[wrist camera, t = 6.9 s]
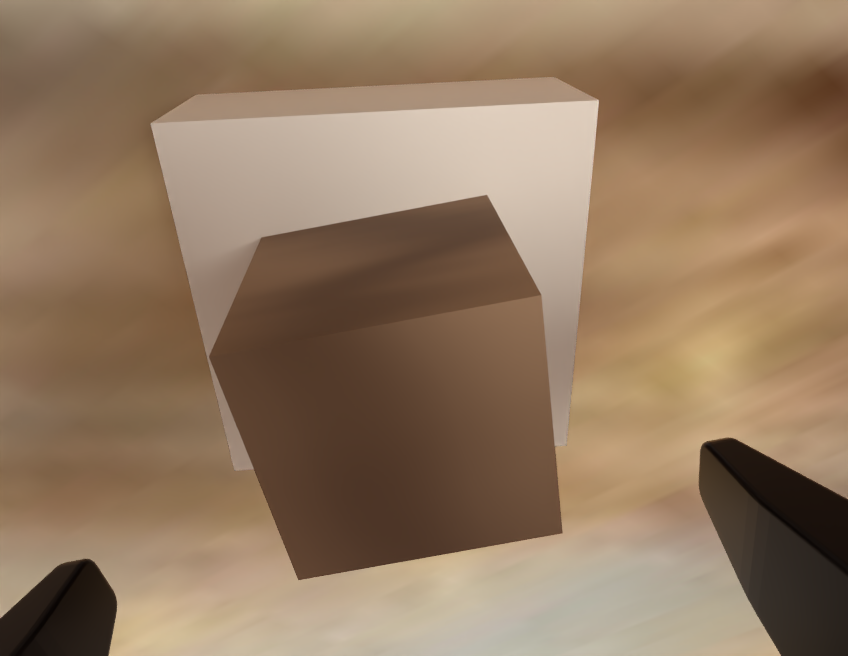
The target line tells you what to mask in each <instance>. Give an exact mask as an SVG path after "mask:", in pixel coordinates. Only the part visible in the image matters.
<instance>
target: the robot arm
mask: <svg viewBox="0 0 848 656" xmlns="http://www.w3.org/2000/svg"><path fill="white" fill-rule="evenodd" d="M699 490H700V495H701V498H702V500H703V503H704V505H705V507H706V509H707V511H708V514H709V516H710V518H711V520H712V522H713V525H714V527H715V529H716V531H717V533H718V536H719V538H720V540H721V542H722V544H723V546H724V549H725V551H726V553H727V555H728V557H729V560H730V562H731V564H732V566H733V568H734V570H735V573H736V575H737V577H738V579H739V581H740V583H741V586H742V588H743V590H744V592H745V594H746V596H747V598H748V600H749V601H750V603H751V605H752V607H753V609H754V610H755V612H756V614H757V616H758V617H759V619H760V621H761V622H762V624H763V626H764V627H765V629H766V631H767V633H768V634H769V636H770V638H771V639H772V641H773V643H774V644H775V646H776V648H777V649H778V651H779V653H780V654H781V656H848V499H846V498H844V497H843V496H841V495H839V494H837V493H835V492H833V491H831V490H830V489H828V488H826V487H824V486H822V485H820V484H818V483H816V482H815V481H813V480H811V479H809V478H807V477H805V476H803V475H802V474H800V473H798V472H796V471H794V470H792V469H790V468H789V467H787V466H785V465H783V464H781V463H779V462H777V461H776V460H774V459H772V458H770V457H768V456H766V455H764V454H762V453H761V452H759V451H757V450H755V449H753V448H751V447H749V446H748V445H746V444H744V443H742V442H740V441H738V440H736V439H734V438H723V439H717V440H712V441H707V442H705V443H703V444H702V446H701V450H700V468H699ZM116 612H117V600H116V596H115V593H114V591H113V590H112V588H111V587H110V585H109V583H108V582H107V580H106V579H105V577H104V576H103V574H102V573H101V571H100V569H99V568H98V566H97V565H96V563H95V562H93V561H92V560H90V559H82V560H76V561H71V562H66V563H63V564H60V565H59V566H57V567H56V568H55V569H54V570H53V571H52V572H51V573H49V574H48V575H47V576H46V577H45V578H44V579H43V580H42V581H41V582H40V583H39V584H37V585H36V586H35V587H34V588H33V589H32V590H31V591H30V592H29V593H28V594H27V595H25V596H24V597H23V598H22V599H21V600H20V601H19V602H18V603H17V604H16V605H15V606H13V607H12V608H11V609H10V610H9V611H8V612H7V613H6V614H5V615H4V616H3V617H1V618H0V656H109V650H110V645H111V640H112V634H113V629H114V623H115V618H116Z"/></svg>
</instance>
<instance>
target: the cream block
mask: <svg viewBox="0 0 848 656" xmlns="http://www.w3.org/2000/svg"><path fill="white" fill-rule="evenodd" d="M598 105H599V100H598V99H596V98H594V97H592V96H590V95H588V94H586V93H584V92H582V91H580V90H578V89H576V88H574V87H573V86H571V85H569V84H567V83H565V82H563V81H561V80H559V79H557V78H555V77H542V78H522V79H502V80H482V81H462V82H441V83H421V84H401V85H381V86H361V87H341V88H320V89H300V90H280V91H260V92H240V93H220V94H199V95H195V96H193V97H192V98H190V99H188V100H187V101H185V102H184V103H182V104H180V105H179V106H177V107H176V108H174V109H172V110H171V111H169V112H168V113H166V114H165V115H163V116H161V117H160V118H158V119H157V120H155V121H153V122H152V123H151V128H152V132H153V136H154V140H155V144H156V148H157V152H158V157H159V161H160V165H161V169H162V173H163V177H164V181H165V186H166V190H167V194H168V198H169V202H170V206H171V210H172V215H173V219H174V223H175V227H176V231H177V235H178V239H179V244H180V248H181V252H182V256H183V260H184V264H185V268H186V273H187V277H188V281H189V285H190V289H191V293H192V297H193V302H194V306H195V310H196V314H197V318H198V322H199V326H200V331H201V335H202V339H203V343H204V347H205V351H206V355H207V360H208V364H209V368H210V372H211V376H212V380H213V384H214V389H215V393H216V397H217V401H218V405H219V409H220V413H221V418H222V422H223V426H224V430H225V434H226V438H227V442H228V447H229V451H230V455H231V459H232V463H233V467H234V471H240V470H253V469H254V468H253V466H252V463H251V461H250V458H249V456H248V453H247V451H246V448H245V446H244V443H243V441H242V438H241V436H240V433H239V431H238V428H237V426H236V423H235V421H234V418H233V416H232V413H231V411H230V408H229V406H228V403H227V401H226V399H225V396H224V394H223V391H222V389H221V386H220V384H219V381H218V379H217V376H216V374H215V371H214V369H213V366H212V364H211V361H210V359H209V355H210V353H211V351H212V348H213V346H214V344H215V342H216V339H217V337H218V335H219V332H220V330H221V328H222V326H223V323H224V321H225V319H226V317H227V314H228V312H229V310H230V307H231V305H232V303H233V301H234V298H235V296H236V294H237V292H238V289H239V287H240V285H241V282H242V280H243V278H244V276H245V273H246V271H247V269H248V267H249V264H250V262H251V260H252V258H253V255H254V253H255V251H256V248H257V246H258V244H259V242H260V239H261V237H266V236H272V235H277V234H282V233H288V232H293V231H298V230H303V229H309V228H314V227H319V226H324V225H330V224H335V223H340V222H346V221H351V220H356V219H361V218H367V217H372V216H377V215H383V214H388V213H393V212H398V211H404V210H409V209H414V208H420V207H425V206H430V205H435V204H441V203H446V202H451V201H457V200H462V199H467V198H472V197H478V196H483V195H488V197H489V199H490V201H491V203H492V205H493V207H494V208H495V210H496V212H497V214H498V216H499V218H500V219H501V221H502V223H503V225H504V227H505V229H506V231H507V232H508V234H509V236H510V238H511V240H512V242H513V243H514V245H515V247H516V249H517V251H518V253H519V255H520V256H521V258H522V260H523V262H524V264H525V266H526V267H527V269H528V271H529V273H530V275H531V277H532V279H533V280H534V282H535V284H536V286H537V288H538V290H539V291H540V293H541V295H542V307H543V318H544V330H545V341H546V352H547V364H548V375H549V386H550V398H551V409H552V421H553V432H554V443H555V446H567V436H568V425H569V414H570V404H571V393H572V382H573V372H574V361H575V350H576V340H577V329H578V318H579V308H580V297H581V286H582V276H583V265H584V254H585V244H586V233H587V222H588V212H589V201H590V190H591V180H592V169H593V158H594V148H595V137H596V126H597V116H598Z"/></svg>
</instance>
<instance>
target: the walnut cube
mask: <svg viewBox="0 0 848 656" xmlns="http://www.w3.org/2000/svg"><path fill="white" fill-rule="evenodd" d="M209 359H210V361H211V364H212V366H213V369H214V371H215V374H216V376H217V379H218V381H219V384H220V386H221V389H222V391H223V394H224V396H225V399H226V401H227V403H228V406H229V408H230V411H231V413H232V416H233V418H234V421H235V423H236V426H237V428H238V431H239V433H240V436H241V438H242V441H243V443H244V446H245V448H246V451H247V453H248V456H249V458H250V461H251V463H252V466H253V468H254V471H255V473H256V476H257V478H258V481H259V483H260V486H261V488H262V491H263V493H264V495H265V498H266V500H267V503H268V505H269V508H270V510H271V513H272V515H273V518H274V520H275V523H276V525H277V528H278V530H279V533H280V535H281V538H282V540H283V543H284V545H285V548H286V550H287V553H288V555H289V558H290V560H291V563H292V565H293V568H294V570H295V573H296V575H297V578H298V580H302V579H307V578H313V577H319V576H324V575H330V574H336V573H341V572H347V571H352V570H358V569H364V568H369V567H375V566H381V565H386V564H392V563H397V562H403V561H409V560H414V559H420V558H425V557H431V556H437V555H442V554H448V553H454V552H459V551H465V550H470V549H476V548H482V547H487V546H493V545H499V544H504V543H510V542H515V541H521V540H527V539H532V538H538V537H544V536H549V535H555V534H560V533H562V523H561V512H560V500H559V489H558V477H557V466H556V455H555V443H554V432H553V421H552V409H551V398H550V386H549V375H548V364H547V352H546V341H545V330H544V318H543V307H542V295H541V293H540V291H539V290H538V288H537V286H536V284H535V282H534V280H533V279H532V277H531V275H530V273H529V271H528V269H527V267H526V266H525V264H524V262H523V260H522V258H521V256H520V255H519V253H518V251H517V249H516V247H515V245H514V243H513V242H512V240H511V238H510V236H509V234H508V232H507V231H506V229H505V227H504V225H503V223H502V221H501V219H500V218H499V216H498V214H497V212H496V210H495V208H494V207H493V205H492V203H491V201H490V199H489V197H488V195H483V196H478V197H472V198H467V199H462V200H457V201H451V202H446V203H441V204H435V205H430V206H425V207H420V208H414V209H409V210H404V211H398V212H393V213H388V214H383V215H377V216H372V217H367V218H361V219H356V220H351V221H346V222H340V223H335V224H330V225H324V226H319V227H314V228H309V229H303V230H298V231H293V232H288V233H282V234H277V235H272V236H266V237H261V239H260V242H259V244H258V246H257V248H256V251H255V253H254V255H253V258H252V260H251V262H250V264H249V267H248V269H247V271H246V273H245V276H244V278H243V280H242V282H241V285H240V287H239V289H238V292H237V294H236V296H235V298H234V301H233V303H232V305H231V307H230V310H229V312H228V314H227V317H226V319H225V321H224V323H223V326H222V328H221V330H220V332H219V335H218V337H217V339H216V342H215V344H214V346H213V348H212V351H211V353H210V355H209Z"/></svg>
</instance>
